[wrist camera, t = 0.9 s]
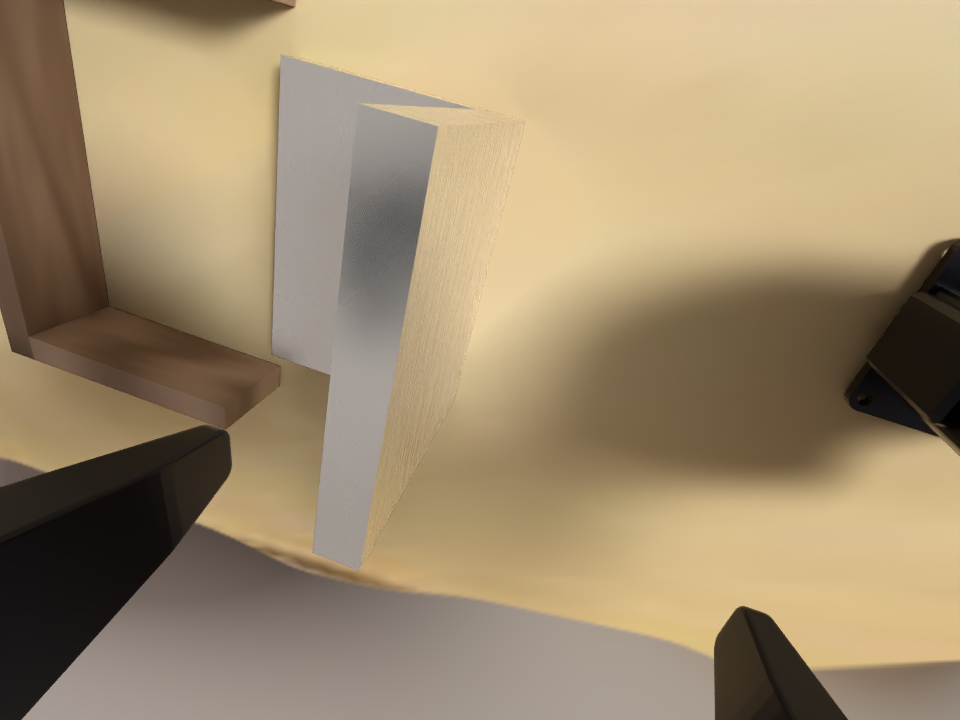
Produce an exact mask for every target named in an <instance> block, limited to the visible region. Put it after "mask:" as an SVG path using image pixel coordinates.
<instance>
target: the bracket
mask: <svg viewBox="0 0 960 720" xmlns="http://www.w3.org/2000/svg"><path fill="white" fill-rule="evenodd" d="M525 122H526V121H523V120H520V119H516V118H513V117H509V116H505V115H502V114H498V113H495V112H491V111H488V110H484V109H480V108H477V107H473V106H470V105H466V104H463V103H459V102H455V101H452V100H448V99H445V98H441V97H438V96H434V95H430V94H427V93H423V92H420V91H416V90H413V89H409V88H405V87H402V86H398V85H395V84H391V83H388V82H384V81H380V80H377V79H373V78H370V77H366V76H363V75H359V74H356V73H352V72H348V71H345V70H341V69H338V68H334V67H331V66H327V65H323V64H320V63H316V62H313V61H309V60H306V59H301V58H296V57H290V56H285V55H281V63H280V96H279V129H278V161H277V194H276V227H275V259H274V292H273V325H272V355H274V356H276V357H279V358H282V359H285V360H288V361H291V362H294V363H297V364H300V365H302V366H305V367H308V368H311V369H314V370H317V371H320V372H323V373H326V374H328V375H330V383H329V393H328V403H327V413H326V423H325V433H324V443H323V453H322V462H321V472H320V482H319V492H318V502H317V512H316V522H315V532H314V541H313V551H312V553H315V554H317V555H320V556H322V557H325V558H328V559H330V560H333V561H335V562H338V563H341V564H343V565H346V566H348V567H351V568H353V569H356V570H359V571H360V569H361V567H362V565H363V564H364V562H365V560H366V558H367V556H368V555H369V553H370V551H371V549H372V547H373V545H374V544H375V542H376V540H377V538H378V536H379V535H380V533H381V531H382V529H383V527H384V526H385V524H386V522H387V520H388V518H389V517H390V515H391V513H392V511H393V509H394V507H395V506H396V504H397V502H398V500H399V498H400V497H401V495H402V493H403V491H404V489H405V488H406V486H407V484H408V482H409V480H410V478H411V477H412V475H413V473H414V471H415V469H416V468H417V466H418V464H419V462H420V460H421V459H422V457H423V455H424V453H425V451H426V450H427V448H428V446H429V444H430V442H431V440H432V439H433V437H434V435H435V433H436V431H437V430H438V428H439V426H440V424H441V422H442V421H443V419H444V417H445V415H446V413H447V412H448V410H449V408H450V406H451V404H452V402H453V401H454V399H455V395H456V391H457V387H458V383H459V379H460V376H461V372H462V368H463V364H464V360H465V356H466V352H467V348H468V344H469V340H470V337H471V333H472V329H473V325H474V321H475V317H476V313H477V309H478V305H479V301H480V298H481V294H482V290H483V286H484V282H485V278H486V274H487V270H488V266H489V262H490V258H491V255H492V251H493V247H494V243H495V239H496V235H497V231H498V227H499V223H500V219H501V216H502V212H503V208H504V204H505V200H506V196H507V192H508V188H509V184H510V180H511V177H512V173H513V169H514V165H515V161H516V157H517V153H518V149H519V145H520V141H521V138H522V134H523V130H524V126H525Z"/></svg>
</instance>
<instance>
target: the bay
mask: <svg viewBox="0 0 960 720" xmlns="http://www.w3.org/2000/svg"><path fill="white" fill-rule="evenodd" d="M271 1H274V2H278V3H282V4H286V5H289V6H293V7H295V0H271ZM0 309H1V313H2V317H3V320H4V324H5V328H6V331H7V335H8V339H9V342H10V346H11V350H12V352H15V353H18V354H21V355H23V356H26V357H29V358H31V359H34V360H37V361H40V362H42V363H45V364H48V365H51V366H53V367H56V368H59V369H62V370H64V371H67V372H70V373H72V374H75V375H78V376H81V377H83V378H86V379H89V380H92V381H94V382H97V383H100V384H102V385H105V386H108V387H111V388H113V389H116V390H119V391H122V392H124V393H127V394H130V395H133V396H135V397H138V398H141V399H143V400H146V401H149V402H152V403H154V404H157V405H160V406H163V407H165V408H168V409H171V410H173V411H176V412H179V413H182V414H184V415H187V416H190V417H193V418H195V419H198V420H201V421H204V422H206V423H209V424H212V425H214V426H217V427H220V428H223V429H225V430H226V429H227V428H228V427H229V426H231V425H232V424H233V423H234V422H236V421H237V420H238V419H239V418H241V417H242V416H243V415H244V414H245V413H247V412H248V411H249V410H250V409H252V408H253V407H254V406H255V405H256V404H258V403H259V402H260V401H261V400H263V399H264V398H265V397H266V396H268V395H269V394H270V393H271V392H272V391H274V390H275V389H276V388H277V387H279V383H280V366H278V365H275V364H273V363H270V362H267V361H264V360H261V359H258V358H255V357H252V356H250V355H247V354H244V353H241V352H238V351H235V350H232V349H229V348H227V347H224V346H221V345H218V344H215V343H212V342H209V341H206V340H204V339H201V338H198V337H195V336H192V335H189V334H186V333H184V332H181V331H178V330H175V329H172V328H169V327H166V326H163V325H161V324H158V323H155V322H152V321H149V320H146V319H143V318H140V317H138V316H135V315H132V314H129V313H126V312H123V311H120V310H117V309H115V308H112V307H109V305H108V298H107V292H106V285H105V278H104V272H103V265H102V258H101V252H100V245H99V238H98V232H97V225H96V218H95V212H94V205H93V198H92V192H91V185H90V178H89V172H88V165H87V158H86V152H85V145H84V138H83V132H82V125H81V118H80V112H79V105H78V98H77V92H76V85H75V78H74V72H73V65H72V58H71V52H70V45H69V38H68V32H67V25H66V18H65V12H64V5H63V0H0Z"/></svg>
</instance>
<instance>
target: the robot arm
mask: <svg viewBox="0 0 960 720" xmlns="http://www.w3.org/2000/svg"><path fill="white" fill-rule="evenodd" d="M867 359H868V361H867V362H866V364H865V365H864V366H863V368H862V369H861V370H860V372H859V373H858V375H857V376H856V377H855V379H854V380H853V381H852V383H851V384H850V386H849V387H848V388H847V390H846V392H845V394H844V396H845V400H846V401H847V403H848V404H849V405H850V406H851V408H853V409H855V410H857V411H860V412H863V413H866V414H869V415H872V416H875V417H878V418H882V419H885V420H888V421H891V422H894V423H897V424H900V425H904V426H907V427H910V428H913V429H916V430H919V431H922V432H926V433H929V434H932V435H935V436H938V437H941V438H942V439H943V440H944V441H945V442H946V443H947V444H948V445H949V446H950V447H951V448H952V449H953V450H954V451H955V452H956V453H957V454H958V455H959V456H960V241H958V242H957V243H955V244H954V245H953V246H952V247H951V248H950V249H949V250H948V251H947V252H946V254H945V255H944V256H943V258H942V259H941V261H940V262H939V263H938V265H937V266H936V267H935V269H934V270H933V272H932V273H931V274H930V276H929V277H928V278H927V280H926V281H925V283H924V284H923V285H922V287H921V288H920V289H919V291H918V292H917V294H915V295H913V296H911V297H910V298H909V299H908V301H907V302H906V303H905V305H904V306H903V308H902V309H901V310H900V312H899V313H898V314H897V316H896V317H895V319H894V320H893V321H892V323H891V324H890V326H889V327H888V328H887V330H886V331H885V332H884V334H883V335H882V337H881V338H880V339H879V341H878V342H877V343H876V345H875V346H874V348H873V349H872V350H871V352H870V353H869V355H868V356H867ZM862 394H868V396H867V397H866V398H865V399H862V400H857V398H858V397H859V396H860V395H862ZM231 467H232V458H231V446H230V436H229V434H228V432H227V431H225V430H223V429H220V428H217V427H214V426H211V425H202V426H198V427H195V428H191V429H188V430H185V431H182V432H178V433H175V434H172V435H169V436H165V437H162V438H159V439H155V440H152V441H149V442H146V443H142V444H139V445H136V446H133V447H129V448H126V449H123V450H120V451H116V452H113V453H110V454H106V455H103V456H100V457H97V458H93V459H90V460H87V461H84V462H80V463H77V464H74V465H70V466H67V467H64V468H61V469H57V470H54V471H51V472H48V473H44V474H41V475H38V476H35V477H31V478H28V479H25V480H22V481H18V482H15V483H12V484H9V485H5V486H2V487H0V720H22V718H23V717H24V716H25V715H26V714H27V713H28V712H29V711H30V709H31V708H32V707H33V706H34V705H35V704H36V703H37V702H38V701H39V699H40V698H41V697H42V696H43V695H44V694H45V693H46V692H47V691H48V690H49V688H50V687H51V686H52V685H53V684H54V683H55V682H56V681H57V679H58V678H59V677H60V676H61V675H62V674H63V673H64V672H65V671H66V669H67V668H68V667H69V666H70V665H71V664H72V663H73V662H74V661H75V659H76V658H77V657H78V656H79V655H80V654H81V653H82V652H83V651H84V649H85V648H86V647H87V646H88V645H89V644H90V643H91V642H92V641H93V639H94V638H95V637H96V636H97V635H98V634H99V633H100V632H101V631H102V629H103V628H104V627H105V626H106V625H107V624H108V623H109V622H110V621H111V619H112V618H113V617H114V616H115V615H116V614H117V613H118V612H119V611H120V609H121V608H122V607H123V606H124V605H125V604H126V603H127V602H128V601H129V599H130V598H131V597H132V596H133V595H134V594H135V593H136V591H137V590H138V589H139V588H140V587H141V586H142V585H143V584H144V583H145V581H146V580H147V579H148V578H149V577H150V576H151V575H152V574H153V573H154V572H155V570H156V569H157V568H158V567H159V566H160V565H161V564H162V563H163V561H164V560H165V559H166V558H167V557H168V556H169V555H170V553H171V552H172V551H173V550H174V549H175V547H176V546H177V545H178V543H179V542H180V541H181V540H182V538H183V537H184V536H185V535H186V533H187V532H188V531H189V529H190V528H191V526H192V525H193V524H194V522H195V521H196V520H197V518H198V517H199V516H200V514H201V513H202V512H203V510H204V509H205V508H206V506H207V505H208V504H209V502H210V501H211V500H212V498H213V497H214V495H215V494H216V493H217V491H218V490H219V489H220V487H221V486H222V485H223V483H224V482H225V481H226V479H227V478H228V476H229V474H230V471H231ZM714 679H715V680H714V684H715V720H848V719H847V718H846V716H845V715H844V714H843V712H842V711H841V710H840V708H839V707H838V706H837V704H836V703H835V702H834V700H833V699H832V698H831V696H830V695H829V694H828V692H827V691H826V690H825V688H824V687H823V686H822V684H821V683H820V682H819V680H818V679H817V678H816V676H815V675H814V674H813V672H812V671H811V670H810V668H809V667H808V666H807V664H806V663H805V662H804V660H803V659H802V658H801V656H800V655H799V654H798V652H797V651H796V650H795V648H794V647H793V646H792V644H791V643H790V642H789V640H788V639H787V638H786V636H785V635H784V634H783V632H782V631H781V630H780V628H779V627H778V626H777V624H776V623H775V622H774V620H773V619H772V618H771V617H770V616H769V615H767V614H765V613H763V612H760V611H757V610H754V609H751V608H748V607H745V606H741V607H738V608H737V609H736V610H735V611H734V612H733V614H732V615H731V617H730V618H729V620H728V621H727V622H726V624H725V625H724V627H723V628H722V629H721V631H720V632H719V634H718V636H717V638H716V641H715V646H714Z"/></svg>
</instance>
